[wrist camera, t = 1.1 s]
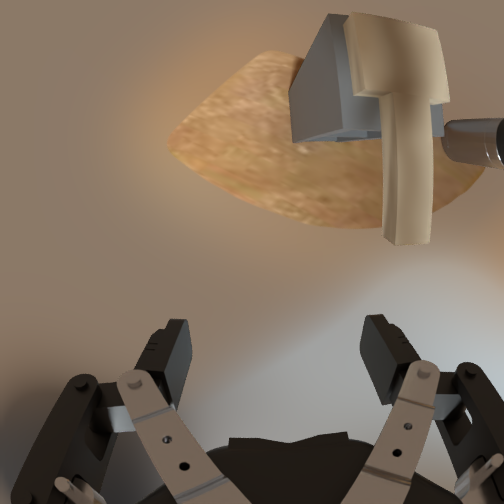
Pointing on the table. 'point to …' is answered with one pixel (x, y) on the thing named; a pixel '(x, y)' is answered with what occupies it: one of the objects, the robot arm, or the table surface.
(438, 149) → the table surface
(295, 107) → the tall grey pillar
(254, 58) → the table surface
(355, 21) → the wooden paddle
